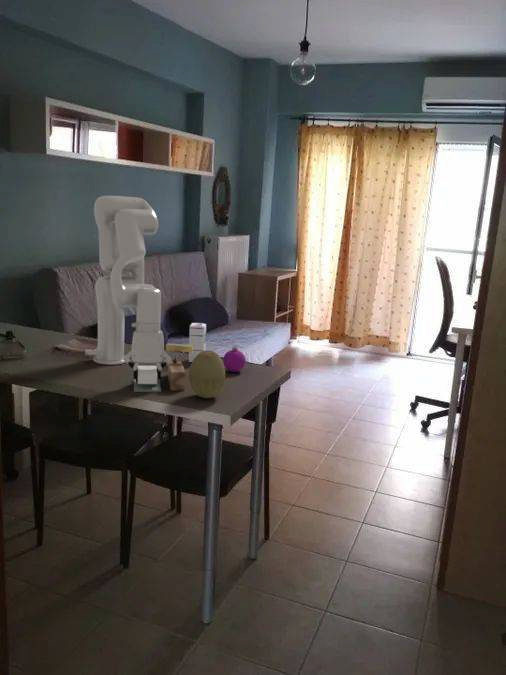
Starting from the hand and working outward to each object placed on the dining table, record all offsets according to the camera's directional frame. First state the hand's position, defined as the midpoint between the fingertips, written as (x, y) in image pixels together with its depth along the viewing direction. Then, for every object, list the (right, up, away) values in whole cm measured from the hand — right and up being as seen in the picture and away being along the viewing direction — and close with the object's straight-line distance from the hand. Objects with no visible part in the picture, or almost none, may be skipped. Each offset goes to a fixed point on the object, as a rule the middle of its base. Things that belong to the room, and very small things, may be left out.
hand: (147, 380), depth 191 cm
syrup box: (+13, +5, +35) cm, 37 cm away
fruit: (+20, -5, -7) cm, 21 cm away
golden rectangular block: (+9, +5, +10) cm, 15 cm away
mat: (0, -2, 0) cm, 2 cm away
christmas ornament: (+27, +1, +24) cm, 36 cm away
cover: (0, +1, -1) cm, 1 cm away
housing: (+8, -1, +6) cm, 11 cm away
